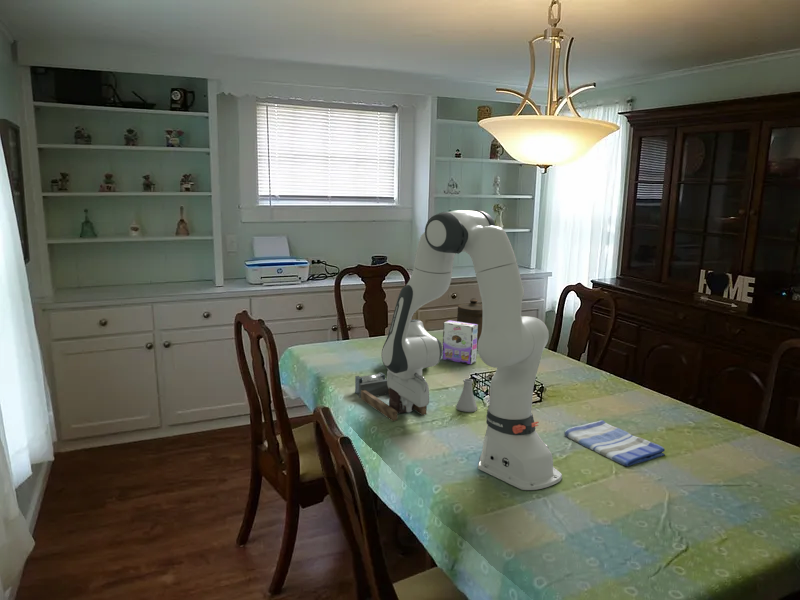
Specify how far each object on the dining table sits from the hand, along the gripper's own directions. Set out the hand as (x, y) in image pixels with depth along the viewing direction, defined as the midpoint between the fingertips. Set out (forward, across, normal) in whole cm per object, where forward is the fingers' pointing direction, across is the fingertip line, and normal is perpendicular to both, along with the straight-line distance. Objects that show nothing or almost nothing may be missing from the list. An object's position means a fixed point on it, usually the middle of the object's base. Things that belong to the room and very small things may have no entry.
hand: (406, 410), depth 185 cm
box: (+2, +5, -1) cm, 6 cm away
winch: (+2, +25, 0) cm, 25 cm away
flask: (+2, -4, -21) cm, 22 cm away
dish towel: (+2, -46, -42) cm, 62 cm away
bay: (+2, +9, 0) cm, 9 cm away
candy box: (+2, +42, -52) cm, 67 cm away
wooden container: (+2, +62, -74) cm, 97 cm away
